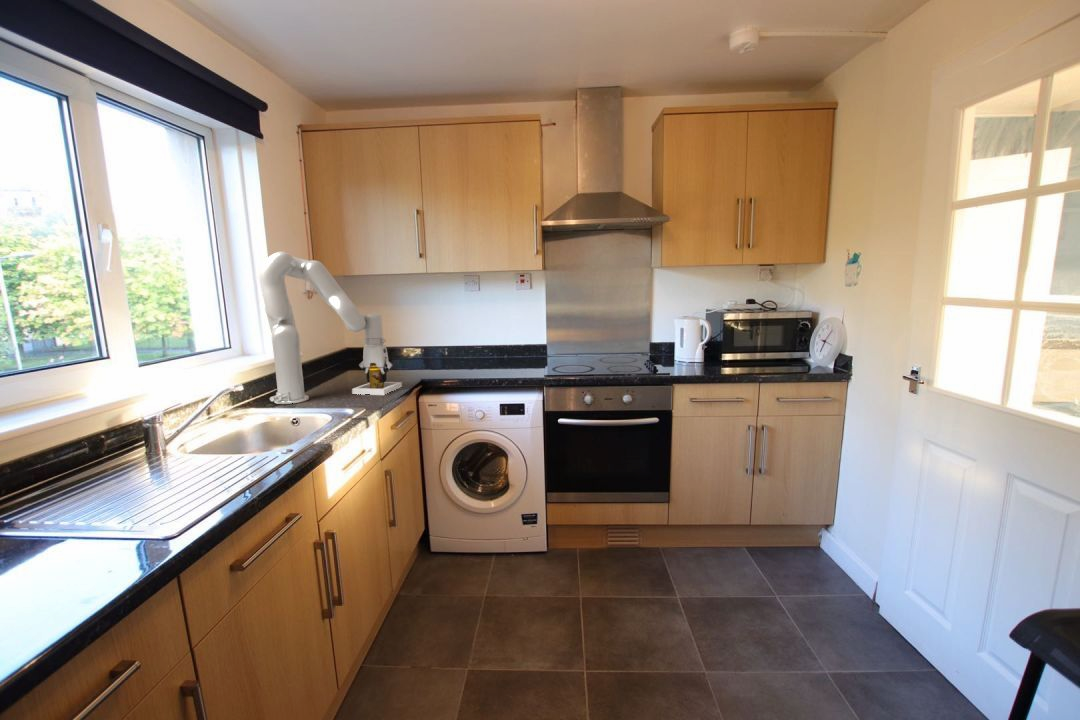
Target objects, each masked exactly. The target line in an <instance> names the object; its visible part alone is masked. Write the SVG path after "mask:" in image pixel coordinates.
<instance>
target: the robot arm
mask: <svg viewBox="0 0 1080 720" xmlns="http://www.w3.org/2000/svg"><path fill="white" fill-rule="evenodd" d="M286 277H289V278H290V277H291V278H294V279H299V280H303V281H309V283H310V285H311V286H312V287H313V288H314V289H315V291H316V292H317V294H318V295H319V296H320V297H321V299H322V300H323V301H324V302H325V303H326V304H327V305H328V306H329V307H330V308H332V310H333V311H335V313H336V314H337V315H338V317H340V319H341V320H342V321H343V324H344V325H343V326H344V327H345V328H346V329H347V330H348V331H351V332H353V333H361V332H362V331H364V343H365V344H364V345H363V350H362V351H363V355H362V359H363V360H362V361H361V362H360V363H359V364H358V366H359V367H360V368H361V369H362V371H364V374H365V375H366V382H367V383H370V382H369V381H370V380H369V368H370V363H375V364H376V366H377V367H378V368H380V370H381V372H382V374H381V382H382V383H384V382H387V380H388V379H387V373H388V372H389V371H390V369H391V368H392V367H393V364H392V362H390V361H389V355H388V349H387V347H386V344H384V343H386V341H387V340H386V339H384V336H383V335H384V334H383V318H382V315H381V314H379V313H366V314H362V313H361V312H360V311H359V310H358V308H357V306H356V305H355V304H354V302H352V300H351V299H350V298H349V297H348V295H347V294H346V292H345V291H344V290H343V288H341V286H340V285H339V284H338V283H337V280H336V279H335V278H334V276H332V274H331V273H330V271H329V270H328V269H327V267H326V266H325V265H324V264H323V263H322V262H321V261H319V260H312V259H311V260H309V259H304V258H299V257H296V256H293V255H291V254H290V253H288V252H286V251H277V252H274V253H272V254H271V255H270V256H268V257H267V258H266V259H265V260H264V261H263V263H262V264H261V267H260V270H259V284H260V288H261V292H262V297H263V301H264V306H265V307H264V310H265V313H266V316H267V321H268V325H269V329H270V333H271V344H272V352H273V361H274V362H273V363H274V369H275V379H276V387H277V388H276V389H277V391H276V393H275V395H273V396H270V397H269V401H270V402H274V403H275V404H277V405H290V404H291V405H292V403H293V404H298V403H303V402H307V401H308V400H310V396H309V395H306V394H305V385H304V376H303V374H304V373H303V368H302V366H303V365H302V356H301V341H300V339H301V338H300V334H299V330H298V328H297V326H296V325H297V324H296V320H295V317H294V313H293V307H292V304H291V302H290V300H289V295H288V291H287V286H286V281H285V278H286Z"/></svg>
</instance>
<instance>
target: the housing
mask: <svg viewBox="0 0 1080 720" xmlns="http://www.w3.org/2000/svg"><path fill="white" fill-rule="evenodd" d="M402 384H403V382H402V381H399V382H398V381H386V382H384V387H386V388H383V389H371V388H368V387H370V382H367V383H365V384H362V385H359V386H357V387H354V388H352V389H351V393H352V394H357V395H358V394H359V395H360V394H361V396H366V395H365V394H370V395H369V396H386V395H388V394H390V393H389V392H391V391H393V392H395V391H397V390H396V389H398V388H400V387H402V388H403V385H402ZM400 389H401V388H400ZM394 390H395V391H394ZM398 390H399V389H398ZM387 393H388V394H387ZM391 393H392V392H391ZM385 394H386V395H385ZM359 395H358V396H359Z"/></svg>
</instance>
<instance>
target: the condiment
mask: <svg viewBox="0 0 1080 720" xmlns="http://www.w3.org/2000/svg"><path fill="white" fill-rule="evenodd" d="M381 374H382V372H381V370H380V368H378V367H377V366H376V364H375V363H370V368H369V380H370V381H369V382H368V383H370V387H368V388H371V389H383V388H386V387H384V383H382V382H381Z"/></svg>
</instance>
